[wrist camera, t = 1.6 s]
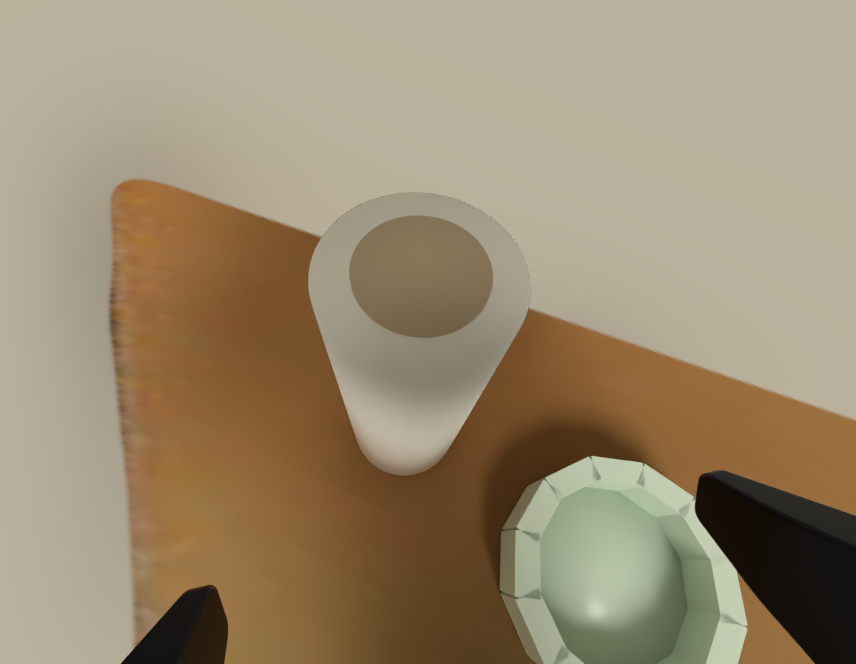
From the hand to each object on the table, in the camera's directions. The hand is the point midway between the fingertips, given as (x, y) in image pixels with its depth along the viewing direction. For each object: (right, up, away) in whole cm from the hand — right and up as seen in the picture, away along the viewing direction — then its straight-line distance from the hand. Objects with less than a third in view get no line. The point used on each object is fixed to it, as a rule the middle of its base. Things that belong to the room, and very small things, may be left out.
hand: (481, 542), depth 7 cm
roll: (-2, -1, +13) cm, 14 cm away
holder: (+7, -7, +11) cm, 15 cm away
